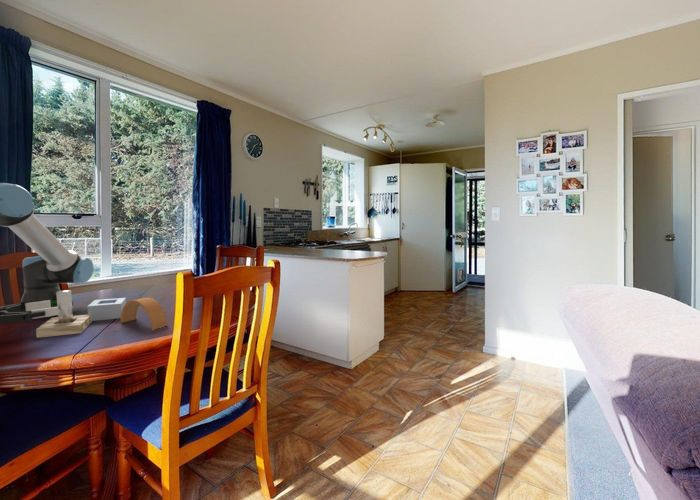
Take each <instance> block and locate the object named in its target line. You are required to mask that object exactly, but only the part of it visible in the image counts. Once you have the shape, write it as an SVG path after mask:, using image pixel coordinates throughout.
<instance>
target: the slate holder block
mask: <svg viewBox="0 0 700 500" xmlns="http://www.w3.org/2000/svg"><path fill="white" fill-rule="evenodd" d="M126 303H127V297H118V298H104V299H103V298H102V299H94V300H93V301H92V302H91V303H89V304H88V305H87V315H90V314H92V322H93V321H106V320H115V319H121V313H122V309H123V307H124V305H125V304H126Z"/></svg>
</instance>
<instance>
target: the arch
mask: <svg viewBox="0 0 700 500" xmlns="http://www.w3.org/2000/svg"><path fill="white" fill-rule="evenodd" d="M140 306H141V308H142V309H143V310H144V311H145V312H146V314H147V316H148V319H149V321H150V326H151V331H155V330H154V329H157V328H160V327H163V328H165V327H164V326H167V327H168V319H167V315H166V313H165V310H164V308H163V307H162V305H161V304H160V303H159V302H158V300H156V299H154V298H152V297H143V298H137V299H132V300H129V301H126V304H125V305H124V307H123V309H122V313H121V318H120V323H121V324H123V323H127V322H132V321H135V320H137V313H138V309H139V307H140ZM160 329H161V328H160ZM157 330H158V329H157Z"/></svg>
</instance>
